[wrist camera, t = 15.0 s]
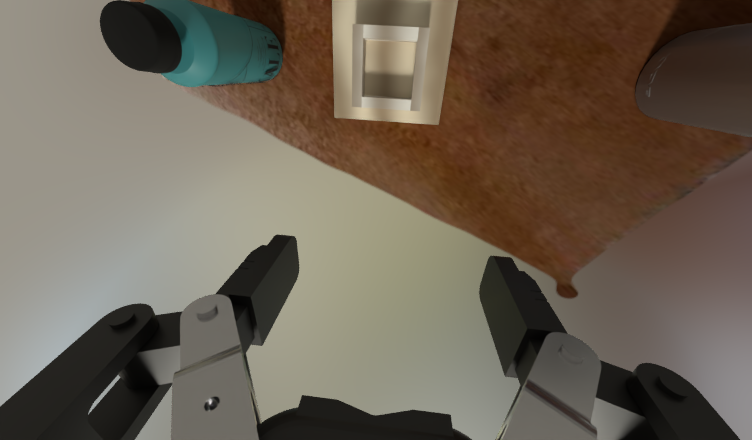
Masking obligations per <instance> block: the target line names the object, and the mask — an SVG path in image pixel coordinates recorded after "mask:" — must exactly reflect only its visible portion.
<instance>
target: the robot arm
mask: <svg viewBox="0 0 752 440" xmlns="http://www.w3.org/2000/svg"><path fill="white" fill-rule="evenodd" d="M635 95H636V102H637V105H638V107H639V109H640V110H641V111H642V112H643V113H644V114H645V115H647V116H649V117H652V118H655V119H660V120H665V121H670V122H675V123H680V124H685V125H690V126H695V127H701V128H706V129H711V130H716V131H722V132H727V133H732V134H737V135H743V136H748V137H752V23H749V24H741V25H733V26H726V27H719V28H712V29H705V30H698V31H692V32H689V33H686V34H684V35H681V36H679V37H677V38H675V39H673V40H672V41H670V42H669V43H667V44H666V45H665V46H663V47H662V48H661V49H660V50H659V51H658V52H657V53H656V54H655V55H654V56H652V58H651V59H650V60H649V62H648V63H647V64H646V65H645V67H644V69H643V71H642V72H641V74H640V76H639V79H638V82H637V85H636V92H635ZM298 273H299V259H298V251H297V241H296V238H295V237H294V236H286V235H275V236H274V237H273V239H272V240H271V241H270V243H269V244H268V245H267V246H266V245H262V246H260V247H258V248H257V249H255V250H254V251H252V252H251V253H250V254H249V255H248V256H247V258H246V259H245V260H244V262H242V263H241V265H240V266H239V267H238V269H236V270H235V272H234V273H233V274H232V275H231V276H230V278H229V279H228V280H227V281H226V282H225V283H224V285H223V286H222V287H221V288H220V289H219V290H218V292H217V293H216V294H214V295H208V296H205V297H202V298H199V299H197V300H195V301H194V302H192V303H191V304H189V305H188V306H187V307H186V308H185V309H184V311H182V312H176V313H169V314H161V315H155V313H154V311H153V309H152V308H151V306H149V305H147V304H132V305H128V306H124V307H121V308H119V309H116V310H115V311H112V312H111V313H109V314H107V315H106V316H104V317H103V318H102V319H100V320H99V321H98V322H97V323H96V324H95V325H93V326H92V327H91V328H90V329H89V330H88V331H87V332H85V333H84V334H83V335H82V336H81V337H80V338H78V339H77V340H76V341H75V342H74V343H73V344H72V345H70V346H69V347H68V348H67V349H66V350H65V351H64V352H62V353H61V354H60V355H59V356H58V357H57V358H56V359H54V360H53V361H52V362H51V363H50V364H49V365H48V366H46V367H45V368H44V369H43V370H42V371H41V372H40V373H38V374H37V375H36V376H35V377H34V378H33V379H31V380H30V381H29V382H28V383H27V384H26V385H25V386H23V387H22V388H21V389H20V390H19V391H18V392H17V393H15V394H14V395H13V396H12V397H11V398H10V399H9V400H7V401H6V402H5V403H4V404H3V405H2V406H1V407H0V440H135V438H136V437H137V435H138V434H139V432H140V431H141V429H142V428H143V426H144V425H145V424H146V422H147V421H148V419H149V418H150V416H151V415H152V413H153V412H154V410H155V409H156V407H157V406H158V404H159V403H160V402H161V400H162V399H163V397H164V396H165V394H166V393H167V391H168V390H169V388H170V387H171V385H172V425H171V427H172V429H171V440H472V439H470V438H469V437H468V436H466V435H465V434H463V433H461V432H459V431H457V430H455V429H453V428H452V422H451V415H449V414H441V413H434V412H426V411H418V410H410V411H403V412H397V413H390V414H385V415H377V416H375V415H370V414H368V413H366V412H364V411H362V410H359V409H357V408H355V407H353V406H350V405H348V404H346V403H344V402H341V401H339V400H334V399H327V398H320V397H312V396H304V395H302V397H301V401H300V404H299V407H298V408H293V409H289V410H286V411H283V412H281V413H278V414H276V415H274V416H272V417H270V418H268V419H267V420H265V421H264V422H262V420H261V417H260V413H259V409H258V405H257V400H256V396H255V391H254V387H253V383H252V378H251V374H250V369H249V365H248V361H247V356H246V352H247V350H248V348H249V347H250V345H251V344H252V345H260V346H262V345H263V343H264V341H265V339H266V338H267V336H268V334H269V332H270V330H271V328H272V326H273V324H274V322H275V320H276V318H277V316H278V315H279V313H280V311H281V309H282V307H283V305H284V303H285V301H286V299H287V297H288V295H289V293H290V291H291V290H292V288H293V286H294V284H295V282H296V280H297V277H298ZM541 292H542V291H541V290H540V288H539V286H538V285H537V283H536V281H535V280H533V279H532V278H531V277H530V276H529V275H528V274H526V273H525V272H524V271H519V270H518V268H517V267H516V265H515V263H514V261H513V259H512V258H510V257H499V256H490V257H489V259H488V261H487V265H486V268H485V271H484V274H483V278H482V281H481V285H480V291H479V294H480V301H481V304H482V307H483V310H484V313H485V316H486V319H487V322H488V325H489V328H490V332H491V335H492V338H493V341H494V344H495V347H496V350H497V353H498V356H499V359H500V362H501V365H502V369H503V372H504V375H505V376H506V377H514V378H518V380H519V382H520V387H519V389H518V391H517V394H516V396H515V398H514V400H513V402H512V404H511V407H510V409H509V411H508V413H507V415H506V418H505V420H504V422H503V424H502V426H501V429H500V431H499V433H498V435H497V437H496V439H495V440H740V439H739V438H738V436H737V435H736V434H735V433H734V432H733V431H732V429H731V428H730V427H729V426H728V425H727V424H726V423H725V421H724V420H723V419H722V418H721V417H720V415H719V414H718V413H717V412H716V411H715V410H714V408H713V407H712V406H711V405H710V404H709V402H708V401H707V400H706V399H705V398H704V397H703V396H702V394H701V393H700V392H699V391H698V390H697V389H696V388H695V387H694V386H693V385H692V384H690V383H689V382H688V381H687V380H685V379H684V378H683V377H681V376H680V375H678V374H676V373H675V372H673V371H671V370H669V369H667V368H665V367H662V366H659V365H656V364H652V363H642V364H640V365H639V366H637V368H636V369H635V370H634V371H633V372H631V371H628V370H625V369H623V368H620V367H617V366H614V365H611V364H609V363H606V362H603V361H601V360H599V358H598V356H597V354H596V353H595V352H594V351H593V350H592V349H591V348H590V347H589V346H588V345H587V344H586V343H584V342H583V341H581V340H580V339H578V338H576V337H574V336H572V335H569V334H567V332H566V330H565V329H564V327H563V326H562V324H561V322H560V321H559V319H558V317H557V316H556V314H555V312H554V311H553V309H552V308H551V306H550V304H549V303H548V302H547V299H546V298H545V296H544V294H542V293H541ZM117 375H119V376H120V379H119V380H118V381H117V382H116V383H115V385H114V386H113V387H112V388H111V389H110V391H109V392H108V393H107V394H106V395H105V396H104V397H103V399H102V400H101V401H100V402H99V403H98V404H97V406H96V407H95V408H94V409H93V410H92V411H91V412H90V414H89V415H88V412H89V410H90V408H91V406H92V404H93V403H94V401H95V400H96V399H97V398H98V397H99V396H100V394H101V393H102V392H103V391H104V390H105V389H106V388H107V387H108V385H109V384H110V383H111V382H112V381H113V380H114V379H115V377H116V376H117Z"/></svg>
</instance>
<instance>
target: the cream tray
mask: <svg viewBox="0 0 752 440" xmlns="http://www.w3.org/2000/svg"><path fill="white" fill-rule="evenodd" d="M457 3H458V0H332V21H333V69H334V118H348V119H362V120H377V121H391V122H405V123H420V124H434V125H439V119H440V112H441V106H442V99H443V93H444V87H445V80H446V74H447V67H448V61H449V54H450V48H451V42H452V35H453V29H454V22H455V16H456V9H457Z"/></svg>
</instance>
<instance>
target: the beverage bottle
mask: <svg viewBox="0 0 752 440" xmlns="http://www.w3.org/2000/svg"><path fill="white" fill-rule="evenodd" d="M237 15H238V14H237ZM263 24H264V23H263ZM263 24H261V23H259V22H257V21H256V22H254V21H251V20H249V19H248V18H247V19H245V18H242V17H241V16H240V17H239V16H236V15H231V14H228V13H225V12H222V11H219V10H216V9H213V8H210V7H207V6H204V5H201V4H198V3H195V2H192V1H189V0H146V1H145V2H144V3H141V2H129V1H121V0H118V1H112V2H110V3H108V4H107V5H106V6H105V7H104V8H103V10H102V13H101V17H100V26H101V32H102V35H103V38H104V40H105V42H106V44H107V46H108V48H109V49H110V50H111V52H112V53H113V54H114V55H115V57H117V59H119V60H120V61H121V62H122V63H123V64H125V65H126V66H128V67H130V68H132V69H135V70H138V71H146V72H153V73H161V74H162V75H163V76H164V77H165V78H167V79H168V80H170V81H172V82H174V83H176V84H178V85H182V86H186V87H197V86H201V85H209V86H211V85H218V86H219V85H220V84H223V86H225V85H224V84H226V85H230V84H232V83H234V84H235V83H240V84H241V83H246V82H251V84H253V83H254V82H256V83H263V81H268V80H270V79H272V80H273V78H274V77H275V76H276V75H278V74H277V73H278V72H279V70H280V68H281V66H282V60H283V54H282V49H281V45H280V42H279V40H278V38H277V36H275V35H274V33H273V32H272V31H271V30H270V29H269V28H268V27H266V26H267V25H263ZM252 82H253V83H252ZM268 82H269V81H268ZM234 84H232V85H234ZM247 84H250V83H247ZM237 85H238V84H237ZM241 85H242V84H241ZM221 86H222V85H221ZM202 87H203V86H202Z"/></svg>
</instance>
